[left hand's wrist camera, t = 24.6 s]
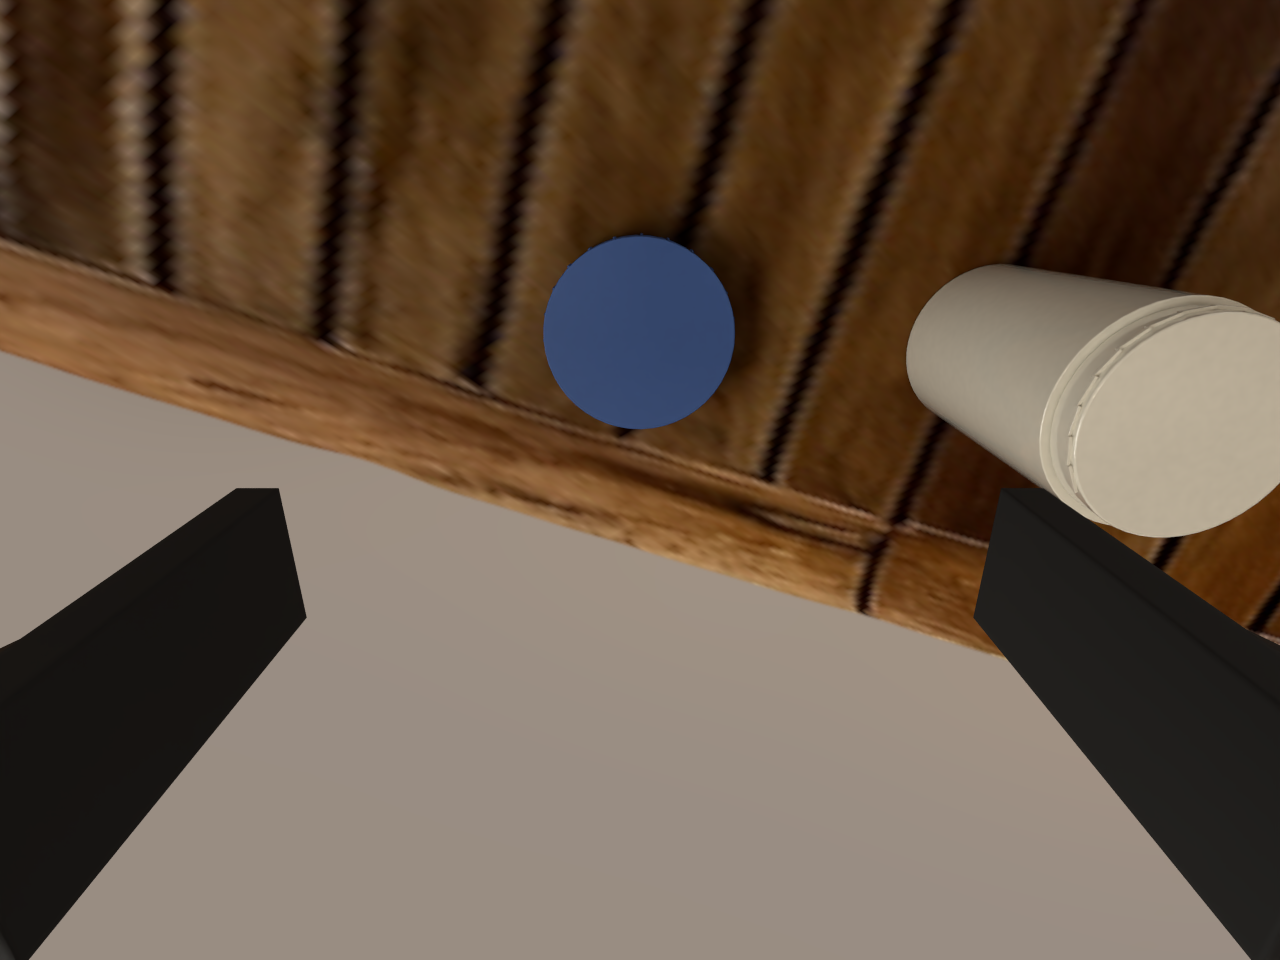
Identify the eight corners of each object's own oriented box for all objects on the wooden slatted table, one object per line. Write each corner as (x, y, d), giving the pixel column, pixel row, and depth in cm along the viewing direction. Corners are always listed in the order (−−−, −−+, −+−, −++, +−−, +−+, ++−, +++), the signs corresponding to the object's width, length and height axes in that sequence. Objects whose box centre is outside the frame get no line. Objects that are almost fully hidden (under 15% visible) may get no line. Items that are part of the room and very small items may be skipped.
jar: (1047, 234, 35) (1318, 252, 21) (1084, 383, 38) (1343, 487, 24) (884, 309, 36) (1038, 373, 22) (932, 448, 39) (1093, 581, 25)
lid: (515, 368, 37) (510, 375, 36) (599, 195, 34) (597, 194, 32) (673, 450, 39) (674, 461, 37) (767, 293, 36) (773, 297, 34)
